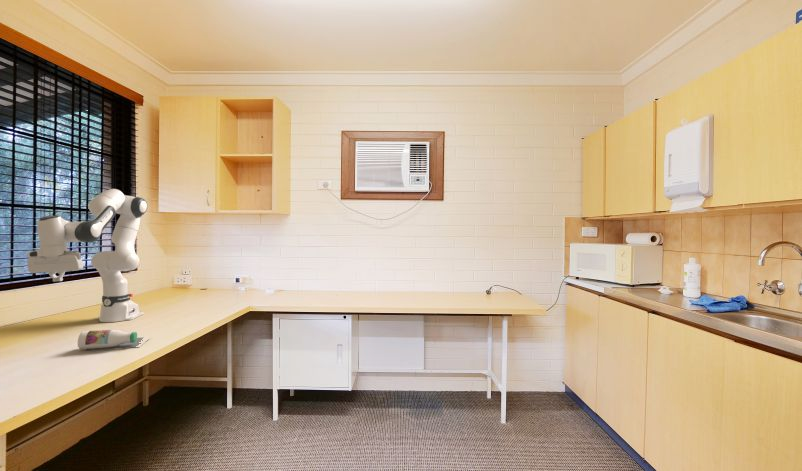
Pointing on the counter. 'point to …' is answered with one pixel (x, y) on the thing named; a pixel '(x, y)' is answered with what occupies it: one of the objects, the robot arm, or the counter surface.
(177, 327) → the counter surface
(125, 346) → the mat
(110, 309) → the robot arm
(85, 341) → the milk bottle
